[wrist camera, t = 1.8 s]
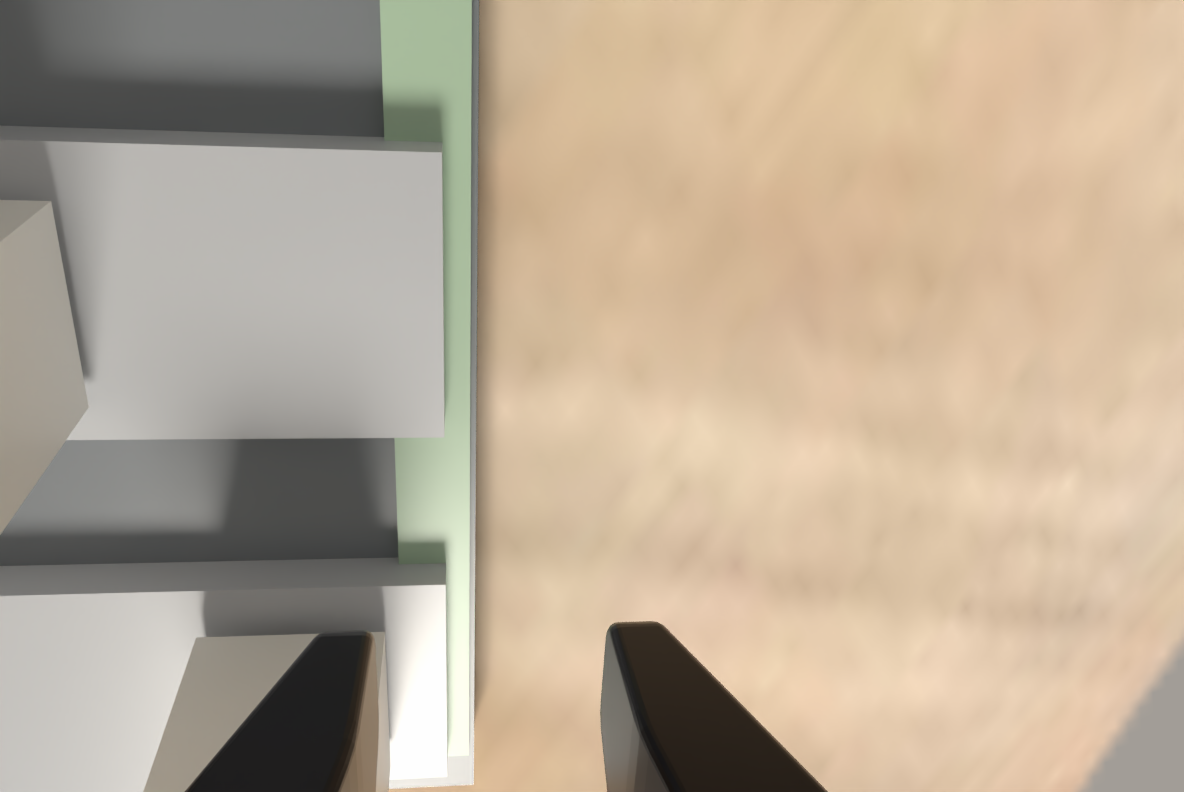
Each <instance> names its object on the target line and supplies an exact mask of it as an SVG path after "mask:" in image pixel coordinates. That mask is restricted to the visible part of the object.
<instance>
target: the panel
mask: <svg viewBox="0 0 1184 792" xmlns="http://www.w3.org/2000/svg"><path fill="white" fill-rule="evenodd" d="M478 83H479V0H0V200H28V201H51V203H52V209H53V214H54V220H55V225H56V231H57V236H58V242H59V247H60V253H61V258H62V263H63V269H64V274H65V280H66V285H67V291H68V296H69V302H70V307H71V313H72V318H73V324H74V329H75V334H76V340H77V345H78V351H79V356H80V362H81V367H82V373H83V378H84V384H85V389H86V395H87V400H88V405H89V408H88V409H87V411H86V412H85V413H84V415H83V416H82V418H81V419H80V421H79V422H78V423H77V425H76V426H75V428H74V429H73V431H72V432H71V434H70V435H69V436H68V438H67V439H66V441H65V442H64V444H63V445H62V447H61V448H60V449H59V451H58V452H57V454H56V455H55V457H54V458H53V460H52V461H51V462H50V464H49V465H48V467H47V468H46V470H45V471H44V473H43V474H42V475H41V477H40V478H39V480H38V481H37V483H36V484H35V486H34V487H33V488H32V490H31V491H30V493H29V494H28V496H27V497H26V499H25V500H24V501H23V503H22V504H21V506H20V507H19V509H18V510H17V512H16V513H15V514H14V516H13V517H12V519H11V520H10V522H9V523H8V525H7V526H6V527H5V529H4V530H3V532H2V533H1V535H0V792H143V791H144V788H145V785H146V782H147V779H148V777H149V774H150V771H151V768H152V765H153V762H154V759H155V756H156V753H157V750H158V747H159V744H160V742H161V739H162V736H163V733H164V730H165V727H166V724H167V721H168V718H169V715H170V712H171V709H172V707H173V704H174V701H175V698H176V695H177V692H178V689H179V686H180V683H181V680H182V677H183V674H184V672H185V669H186V666H187V663H188V660H189V657H190V654H191V651H192V648H193V645H194V642H195V639H196V637H228V636H260V635H293V634H320V633H321V632H326V631H350V630H367V631H369V632H385V647H386V670H387V694H388V717H389V741H390V778H389V789H398V788H417V787H437V786H457V785H474V664H475V519H476V374H477V228H478Z"/></svg>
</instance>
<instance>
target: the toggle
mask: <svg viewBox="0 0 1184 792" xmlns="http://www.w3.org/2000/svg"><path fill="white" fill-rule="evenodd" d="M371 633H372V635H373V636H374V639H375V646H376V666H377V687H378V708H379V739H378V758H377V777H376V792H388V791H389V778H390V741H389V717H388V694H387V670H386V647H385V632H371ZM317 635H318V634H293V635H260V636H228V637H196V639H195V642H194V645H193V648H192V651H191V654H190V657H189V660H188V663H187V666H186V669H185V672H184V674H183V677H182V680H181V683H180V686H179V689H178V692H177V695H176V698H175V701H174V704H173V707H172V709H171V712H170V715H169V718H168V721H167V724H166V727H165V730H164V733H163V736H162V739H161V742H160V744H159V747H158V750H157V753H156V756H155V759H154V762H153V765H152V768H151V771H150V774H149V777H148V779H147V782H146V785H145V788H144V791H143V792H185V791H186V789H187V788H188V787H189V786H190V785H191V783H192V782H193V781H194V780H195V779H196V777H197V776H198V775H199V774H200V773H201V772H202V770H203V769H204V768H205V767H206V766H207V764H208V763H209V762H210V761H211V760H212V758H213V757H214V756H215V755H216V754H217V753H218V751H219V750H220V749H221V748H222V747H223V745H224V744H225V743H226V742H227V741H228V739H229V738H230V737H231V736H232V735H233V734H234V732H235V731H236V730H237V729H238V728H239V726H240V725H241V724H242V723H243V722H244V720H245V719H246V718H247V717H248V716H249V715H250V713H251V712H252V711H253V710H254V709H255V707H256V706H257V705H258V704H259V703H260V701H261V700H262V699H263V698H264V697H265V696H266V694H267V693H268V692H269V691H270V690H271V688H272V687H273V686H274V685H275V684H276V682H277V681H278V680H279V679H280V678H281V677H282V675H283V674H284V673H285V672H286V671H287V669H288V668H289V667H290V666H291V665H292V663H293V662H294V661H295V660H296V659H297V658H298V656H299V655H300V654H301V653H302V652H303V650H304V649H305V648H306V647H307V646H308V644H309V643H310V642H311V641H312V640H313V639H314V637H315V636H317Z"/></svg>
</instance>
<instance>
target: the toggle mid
mask: <svg viewBox="0 0 1184 792" xmlns="http://www.w3.org/2000/svg"><path fill="white" fill-rule="evenodd" d="M88 408H89V405H88V400H87V395H86V389H85V384H84V378H83V373H82V367H81V362H80V356H79V351H78V345H77V340H76V334H75V329H74V324H73V318H72V313H71V307H70V302H69V296H68V291H67V285H66V280H65V274H64V269H63V263H62V258H61V253H60V247H59V242H58V236H57V231H56V225H55V220H54V214H53V209H52V203H51V201H28V200H0V535H1V533H2V532H3V530H4V529H5V527H6V526H7V525H8V523H9V522H10V520H11V519H12V517H13V516H14V514H15V513H16V512H17V510H18V509H19V507H20V506H21V504H22V503H23V501H24V500H25V499H26V497H27V496H28V494H29V493H30V491H31V490H32V488H33V487H34V486H35V484H36V483H37V481H38V480H39V478H40V477H41V475H42V474H43V473H44V471H45V470H46V468H47V467H48V465H49V464H50V462H51V461H52V460H53V458H54V457H55V455H56V454H57V452H58V451H59V449H60V448H61V447H62V445H63V444H64V442H65V441H66V439H67V438H68V436H69V435H70V434H71V432H72V431H73V429H74V428H75V426H76V425H77V423H78V422H79V421H80V419H81V418H82V416H83V415H84V413H85V412H86V411H87V409H88Z"/></svg>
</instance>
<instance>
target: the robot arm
mask: <svg viewBox="0 0 1184 792" xmlns="http://www.w3.org/2000/svg"><path fill="white" fill-rule="evenodd" d="M600 715H601V734H602V744H603V753H604V763H605V773H606V783H607V792H828V791H827V790H826V789H825V788H824V787H823V786H822V785H821V784H820V783H819V782H818V781H817V780H816V779H815V778H814V777H813V776H812V775H811V774H810V773H809V772H808V771H807V770H806V769H805V768H804V767H803V766H802V765H801V764H800V763H799V762H798V761H797V760H796V759H795V758H794V757H793V756H792V755H791V754H790V753H789V752H788V751H787V750H786V749H785V748H784V747H783V746H782V745H781V744H780V743H779V742H778V741H777V740H776V739H775V738H774V737H773V736H772V735H771V734H770V733H769V732H768V731H767V730H766V729H765V728H764V727H763V726H762V725H761V724H760V723H759V722H758V721H757V720H756V719H755V718H754V717H753V716H752V715H751V714H750V712H749V711H748V710H747V709H746V708H745V707H744V706H743V705H742V704H741V703H740V702H739V701H738V700H737V699H736V698H735V697H734V696H733V695H732V694H731V693H730V692H729V691H728V690H727V689H726V688H725V687H724V686H723V685H722V684H721V683H720V682H719V681H718V680H717V679H716V678H715V677H714V676H713V675H712V674H711V673H710V672H709V671H708V670H707V669H706V668H705V667H704V666H703V665H702V664H701V663H700V662H699V661H698V660H697V659H696V658H695V657H694V656H693V655H692V654H691V653H690V652H689V651H688V650H687V649H686V648H685V647H684V646H683V645H682V644H681V643H680V642H679V641H678V640H677V639H676V638H675V637H674V636H673V635H672V634H671V633H670V631H669V630H668V629H667V628H666V627H664V626H663V625H662V624H660V623H658V622H653V621H646V622H617V623H614V624H612V625H611V626H610V627H609V629H608V631H607V635H606V643H605V655H604V668H603V680H602V693H601V710H600ZM378 739H379V708H378V687H377V666H376V646H375V639H374V636H373V635H372V633H371V632H369V631H367V630H350V631H326V632H321V633H320V634H318V635H317V636H315V637H314V639H313V640H312V641H311V642H310V643H309V644H308V646H307V647H306V648H305V649H304V650H303V652H302V653H301V654H300V655H299V656H298V658H297V659H296V660H295V661H294V662H293V663H292V665H291V666H290V667H289V668H288V669H287V671H286V672H285V673H284V674H283V675H282V677H281V678H280V679H279V680H278V681H277V682H276V684H275V685H274V686H273V687H272V688H271V690H270V691H269V692H268V693H267V694H266V696H265V697H264V698H263V699H262V700H261V701H260V703H259V704H258V705H257V706H256V707H255V709H254V710H253V711H252V712H251V713H250V715H249V716H248V717H247V718H246V719H245V720H244V722H243V723H242V724H241V725H240V726H239V728H238V729H237V730H236V731H235V732H234V734H233V735H232V736H231V737H230V738H229V739H228V741H227V742H226V743H225V744H224V745H223V747H222V748H221V749H220V750H219V751H218V753H217V754H216V755H215V756H214V757H213V758H212V760H211V761H210V762H209V763H208V764H207V766H206V767H205V768H204V769H203V770H202V772H201V773H200V774H199V775H198V776H197V777H196V779H195V780H194V781H193V782H192V783H191V785H190V786H189V787H188V788H187V789H186V791H185V792H376V777H377V758H378Z"/></svg>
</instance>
